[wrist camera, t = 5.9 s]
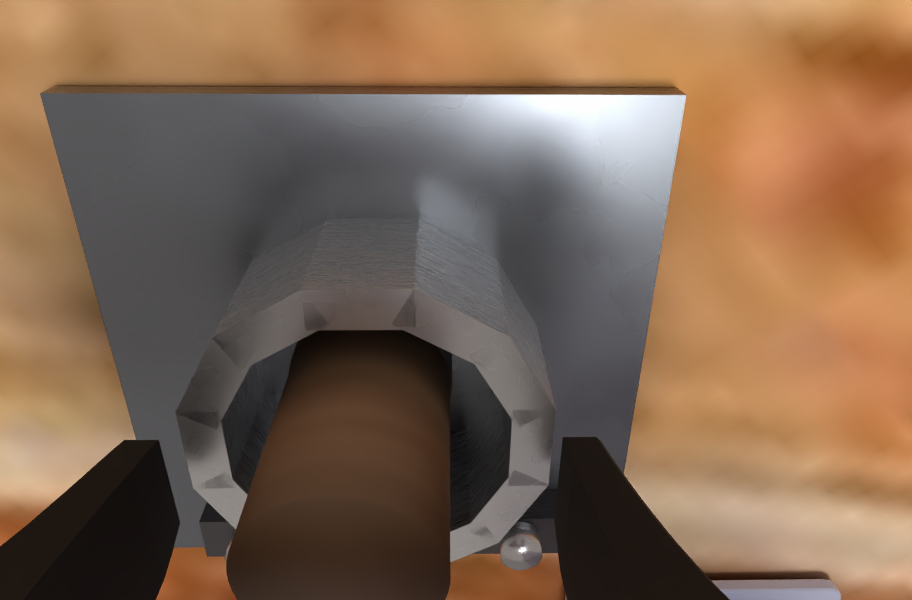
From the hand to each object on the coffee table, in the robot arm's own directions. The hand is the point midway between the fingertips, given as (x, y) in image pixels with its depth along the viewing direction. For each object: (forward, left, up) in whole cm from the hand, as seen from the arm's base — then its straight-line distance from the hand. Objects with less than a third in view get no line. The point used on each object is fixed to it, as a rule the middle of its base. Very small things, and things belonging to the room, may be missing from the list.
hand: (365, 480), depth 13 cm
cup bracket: (0, 0, -4) cm, 4 cm away
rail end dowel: (0, 0, -4) cm, 4 cm away
